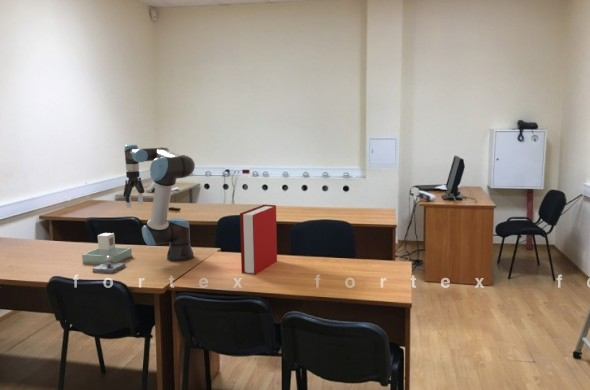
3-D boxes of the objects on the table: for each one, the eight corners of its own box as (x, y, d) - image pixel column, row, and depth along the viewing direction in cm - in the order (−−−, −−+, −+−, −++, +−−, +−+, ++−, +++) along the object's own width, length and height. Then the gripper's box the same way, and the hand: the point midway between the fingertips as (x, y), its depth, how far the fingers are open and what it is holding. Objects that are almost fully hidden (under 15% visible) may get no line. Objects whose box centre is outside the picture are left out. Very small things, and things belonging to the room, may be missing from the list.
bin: (131, 256, 295) (131, 248, 294) (113, 265, 277) (113, 256, 276) (102, 254, 299) (101, 246, 299) (82, 263, 282) (82, 254, 281)
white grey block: (106, 256, 292) (104, 232, 290) (116, 256, 290) (114, 233, 288) (99, 259, 286) (97, 235, 284) (109, 259, 284) (108, 236, 282)
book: (255, 275, 258) (253, 214, 253) (241, 273, 261) (239, 213, 256) (278, 260, 282) (277, 205, 277) (265, 259, 286) (264, 204, 281)
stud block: (125, 266, 274) (124, 253, 273) (112, 273, 263) (111, 259, 262) (106, 265, 277) (105, 252, 276) (92, 272, 266) (91, 258, 265)
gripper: (137, 168, 310) (139, 202, 314) (115, 173, 286) (118, 209, 290) (148, 168, 309) (150, 202, 312) (127, 173, 285) (129, 209, 288)
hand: (135, 205), depth 301 cm, fingers open, 13 cm apart
